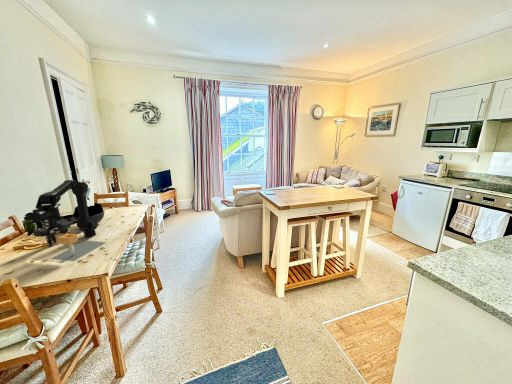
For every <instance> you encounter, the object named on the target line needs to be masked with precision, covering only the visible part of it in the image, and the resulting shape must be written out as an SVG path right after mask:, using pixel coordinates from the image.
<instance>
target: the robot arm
mask: <svg viewBox="0 0 512 384" xmlns="http://www.w3.org/2000/svg"><path fill="white" fill-rule="evenodd" d="M69 190H71V192H72V194H73V195H74V196H75V197H76V198H75V199H76V204H77V206H78V211H79V219H78V220H77V221H76V220H75V219H73V217H69V218H65V219H64V216H63V215H61V212H60V209H59V206H61V203H59V202H60V201H61V199H62V198H61V197H62V196H64V194H66V193H67V192H68V191H69ZM88 192H89V185H88V184H87V182H84V181H83V182H82V181H77V180H74V179H67V180H64V181H63V182H62V183H60V184H59V185H58V186H57V187H55V188H54V189H53V190H50V191H46V192H44V193H41V194H40V195H39V196H38V199H37V202H36V204H35V209H32V212H31V213H30V215H29V219H30V221H31V222H33V223H42V222H41V221H43V220H47V222H48V225H47V227H49V228H47V229H43V228H39V229H36V230H34V231H33V232H32V233H33V237H40V238H43V237H46V236H47V237H48V238H49V239H50V240H51V241H53V242H54V243H56V239H55V233H56V232H53V230H55V229H57V228H59V230H60V233H65V234H68V230H69V229H70V228H71V227H72V226H74V225H76V227H77V229H78V230H79V231H80V232H83V236H84V237H85V238H92V237H95V236H97V233H96V229H98V223H97V224H95V223H93V220H92V218H91V217H90V216H89V214H88V207H89V206H88V201H87V196H86V195H87V194H88ZM87 206H88V207H87Z"/></svg>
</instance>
